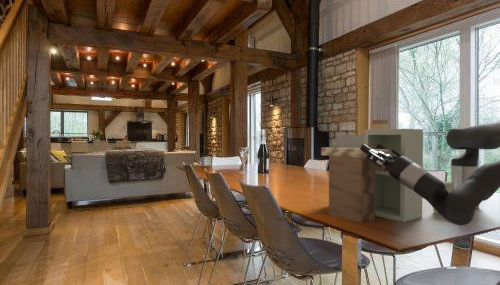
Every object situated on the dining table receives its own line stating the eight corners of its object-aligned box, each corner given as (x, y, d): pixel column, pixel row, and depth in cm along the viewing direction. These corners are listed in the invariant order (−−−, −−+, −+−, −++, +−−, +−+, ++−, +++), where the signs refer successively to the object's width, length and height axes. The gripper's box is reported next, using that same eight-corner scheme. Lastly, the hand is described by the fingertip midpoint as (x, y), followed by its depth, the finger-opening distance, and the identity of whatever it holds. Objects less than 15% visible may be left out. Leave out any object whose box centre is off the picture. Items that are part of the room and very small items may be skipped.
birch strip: (321, 155, 128) (321, 147, 128) (328, 154, 130) (328, 147, 130) (381, 158, 106) (381, 149, 106) (388, 158, 109) (388, 149, 109)
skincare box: (454, 214, 123) (455, 182, 123) (449, 216, 121) (450, 183, 120) (437, 211, 128) (437, 180, 128) (432, 212, 126) (432, 181, 125)
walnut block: (342, 211, 127) (343, 155, 126) (374, 219, 115) (375, 157, 115) (328, 214, 122) (329, 156, 122) (360, 222, 111) (361, 158, 110)
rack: (382, 209, 131) (382, 121, 131) (422, 217, 118) (423, 119, 118) (363, 213, 125) (364, 120, 124) (404, 222, 111) (405, 118, 111)
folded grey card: (369, 204, 141) (370, 135, 140) (373, 207, 135) (373, 135, 135) (336, 203, 142) (336, 135, 142) (338, 206, 137) (338, 135, 136)
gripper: (426, 162, 103) (386, 136, 115) (402, 164, 95) (361, 136, 106) (414, 181, 107) (376, 154, 118) (390, 185, 98) (351, 156, 110)
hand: (369, 146), depth 112 cm, fingers open, 8 cm apart
